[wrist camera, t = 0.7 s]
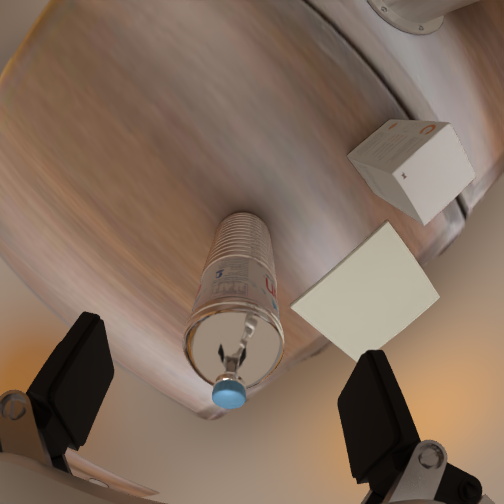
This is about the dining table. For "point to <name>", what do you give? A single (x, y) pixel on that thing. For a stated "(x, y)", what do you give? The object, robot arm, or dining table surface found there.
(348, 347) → the mat
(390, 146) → the small box
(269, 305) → the water bottle
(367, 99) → the dining table surface
